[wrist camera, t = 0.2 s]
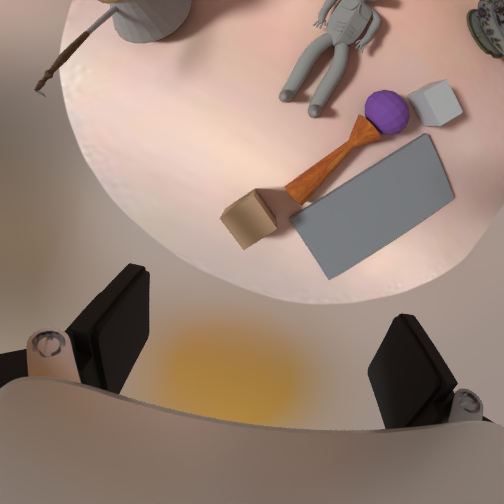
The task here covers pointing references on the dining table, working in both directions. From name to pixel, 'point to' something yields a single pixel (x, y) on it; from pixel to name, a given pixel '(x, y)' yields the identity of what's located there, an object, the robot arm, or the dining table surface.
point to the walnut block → (249, 219)
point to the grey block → (435, 103)
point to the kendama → (355, 140)
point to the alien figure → (339, 35)
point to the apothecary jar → (488, 26)
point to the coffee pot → (131, 25)
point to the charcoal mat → (374, 207)
